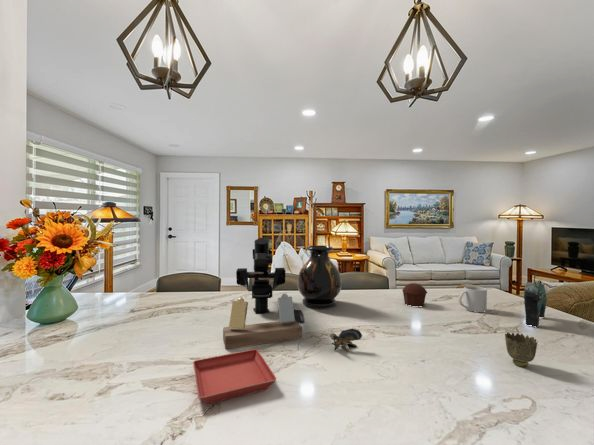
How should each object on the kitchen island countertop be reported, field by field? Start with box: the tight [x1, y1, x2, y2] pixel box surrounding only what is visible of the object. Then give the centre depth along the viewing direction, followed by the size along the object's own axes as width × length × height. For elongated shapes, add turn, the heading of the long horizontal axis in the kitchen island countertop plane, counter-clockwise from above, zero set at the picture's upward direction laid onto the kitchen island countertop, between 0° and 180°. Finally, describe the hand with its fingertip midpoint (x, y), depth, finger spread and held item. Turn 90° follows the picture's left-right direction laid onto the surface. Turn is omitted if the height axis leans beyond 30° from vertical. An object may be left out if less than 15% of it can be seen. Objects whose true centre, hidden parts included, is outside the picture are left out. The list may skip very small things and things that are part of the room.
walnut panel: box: [222, 320, 303, 350], centre depth 101 cm, size 8×26×4 cm, turn 109°
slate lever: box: [277, 293, 295, 323], centre depth 106 cm, size 2×5×10 cm, turn 109°
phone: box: [293, 309, 305, 324], centre depth 124 cm, size 8×1×15 cm
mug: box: [458, 285, 488, 313], centre depth 135 cm, size 11×10×10 cm
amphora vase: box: [296, 245, 343, 309], centre depth 143 cm, size 22×22×28 cm
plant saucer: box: [192, 348, 277, 405], centre depth 75 cm, size 18×18×3 cm
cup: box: [504, 332, 539, 368], centre depth 84 cm, size 8×7×8 cm
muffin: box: [402, 282, 428, 307], centre depth 143 cm, size 12×11×10 cm
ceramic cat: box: [523, 273, 548, 328], centre depth 120 cm, size 20×6×20 cm, turn 131°
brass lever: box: [228, 297, 249, 328], centre depth 100 cm, size 2×5×10 cm, turn 82°
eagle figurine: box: [329, 328, 363, 352], centre depth 94 cm, size 8×7×9 cm
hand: (260, 288), depth 106 cm, fingers open, 9 cm apart
